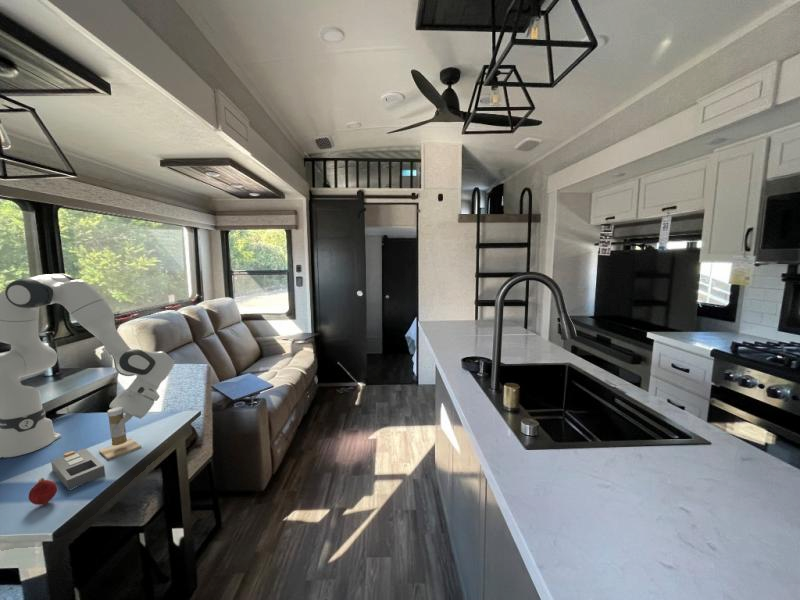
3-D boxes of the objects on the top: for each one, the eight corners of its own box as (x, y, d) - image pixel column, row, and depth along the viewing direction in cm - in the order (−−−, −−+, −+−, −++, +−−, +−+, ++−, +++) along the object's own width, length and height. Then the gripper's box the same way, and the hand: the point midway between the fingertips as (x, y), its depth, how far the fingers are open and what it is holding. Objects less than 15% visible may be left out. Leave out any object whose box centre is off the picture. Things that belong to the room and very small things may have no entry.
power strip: (48, 464, 119) (46, 453, 119) (81, 452, 127) (80, 441, 126) (68, 490, 105) (66, 478, 104) (105, 475, 112) (103, 463, 112)
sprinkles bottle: (116, 440, 129) (111, 407, 127) (129, 439, 130) (125, 405, 128) (109, 447, 124) (104, 412, 123) (123, 445, 125) (118, 410, 124)
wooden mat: (99, 452, 126) (98, 450, 126) (131, 440, 134) (131, 438, 134) (108, 460, 121) (108, 458, 121) (141, 447, 129) (141, 445, 129)
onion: (59, 503, 99) (55, 478, 98) (30, 514, 95) (26, 488, 94) (58, 494, 103) (54, 470, 102) (30, 504, 99) (26, 479, 98)
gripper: (121, 383, 136) (94, 416, 128) (147, 391, 126) (120, 427, 119) (135, 389, 140) (110, 422, 133) (162, 397, 131) (136, 433, 123)
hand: (115, 424), depth 126 cm, fingers closed on sprinkles bottle, 4 cm apart
